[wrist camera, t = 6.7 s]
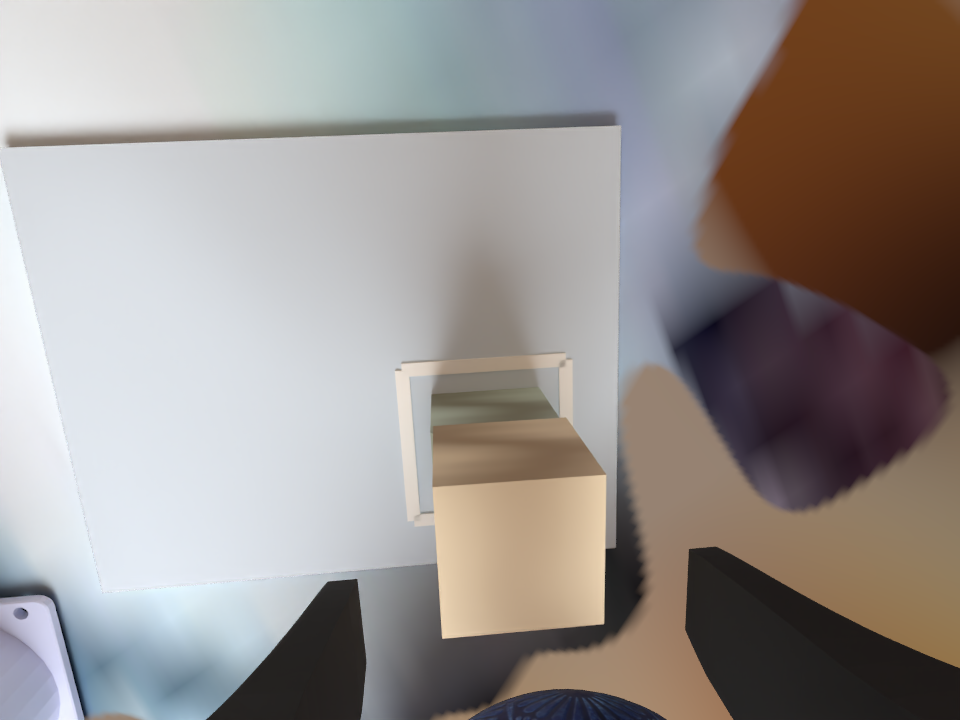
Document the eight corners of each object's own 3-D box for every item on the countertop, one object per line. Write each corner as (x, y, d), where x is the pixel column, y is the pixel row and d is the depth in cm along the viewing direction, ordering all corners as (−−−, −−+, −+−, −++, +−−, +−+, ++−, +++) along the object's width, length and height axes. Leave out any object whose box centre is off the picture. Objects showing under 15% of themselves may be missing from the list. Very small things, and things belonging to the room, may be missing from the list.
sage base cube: (438, 493, 21) (439, 553, 17) (431, 394, 20) (430, 433, 16) (541, 485, 21) (564, 542, 18) (538, 386, 20) (562, 423, 17)
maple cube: (440, 546, 17) (442, 638, 13) (433, 426, 16) (432, 487, 12) (566, 536, 17) (604, 624, 14) (566, 417, 17) (606, 474, 13)
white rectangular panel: (109, 585, 21) (100, 594, 21) (8, 150, 18) (-6, 147, 17) (611, 540, 23) (616, 549, 22) (616, 128, 19) (621, 124, 18)
